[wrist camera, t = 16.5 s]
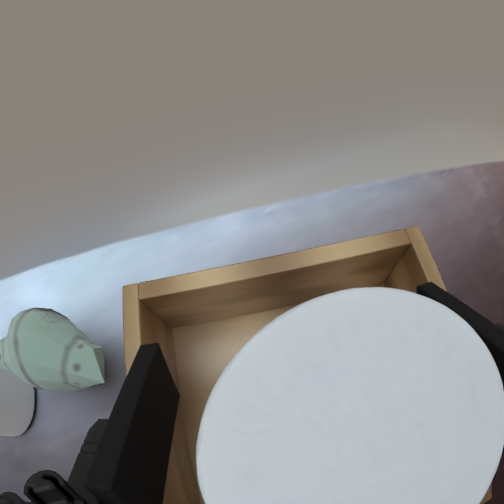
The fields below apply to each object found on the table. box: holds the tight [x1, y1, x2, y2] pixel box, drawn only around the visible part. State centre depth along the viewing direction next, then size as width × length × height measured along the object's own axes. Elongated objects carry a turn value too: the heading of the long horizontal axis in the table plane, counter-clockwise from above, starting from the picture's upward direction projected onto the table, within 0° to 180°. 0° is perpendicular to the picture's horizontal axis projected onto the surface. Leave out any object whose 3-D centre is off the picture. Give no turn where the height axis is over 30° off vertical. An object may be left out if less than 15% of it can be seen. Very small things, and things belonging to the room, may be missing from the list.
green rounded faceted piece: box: [0, 308, 105, 391], centre depth 13 cm, size 8×4×7 cm, turn 94°
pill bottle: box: [196, 287, 504, 504], centre depth 8 cm, size 6×6×11 cm
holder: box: [123, 226, 492, 504], centre depth 12 cm, size 14×14×5 cm
